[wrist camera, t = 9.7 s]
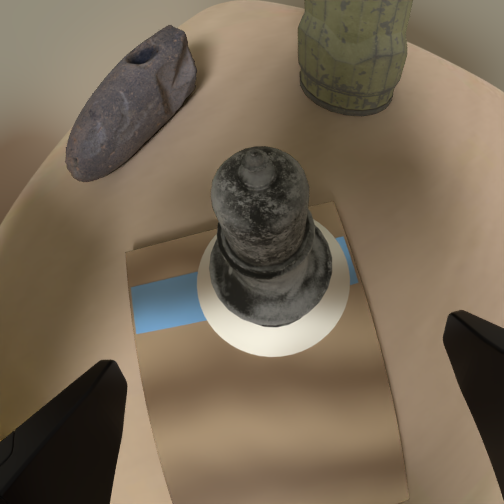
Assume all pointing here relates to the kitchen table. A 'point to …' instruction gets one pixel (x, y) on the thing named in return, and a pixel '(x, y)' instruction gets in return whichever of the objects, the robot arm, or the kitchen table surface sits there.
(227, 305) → the dark grey chess piece
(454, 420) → the kitchen table surface
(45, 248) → the kitchen table surface
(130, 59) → the perforated stone tool
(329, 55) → the thermos
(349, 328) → the board
